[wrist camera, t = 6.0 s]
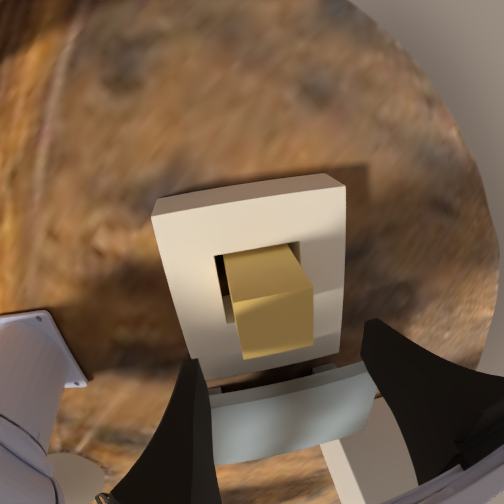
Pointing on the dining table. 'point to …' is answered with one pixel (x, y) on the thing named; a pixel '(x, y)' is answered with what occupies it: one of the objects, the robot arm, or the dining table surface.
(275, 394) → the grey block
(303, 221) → the socket
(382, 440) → the milk carton
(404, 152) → the dining table surface
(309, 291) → the peg
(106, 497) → the coffee press
